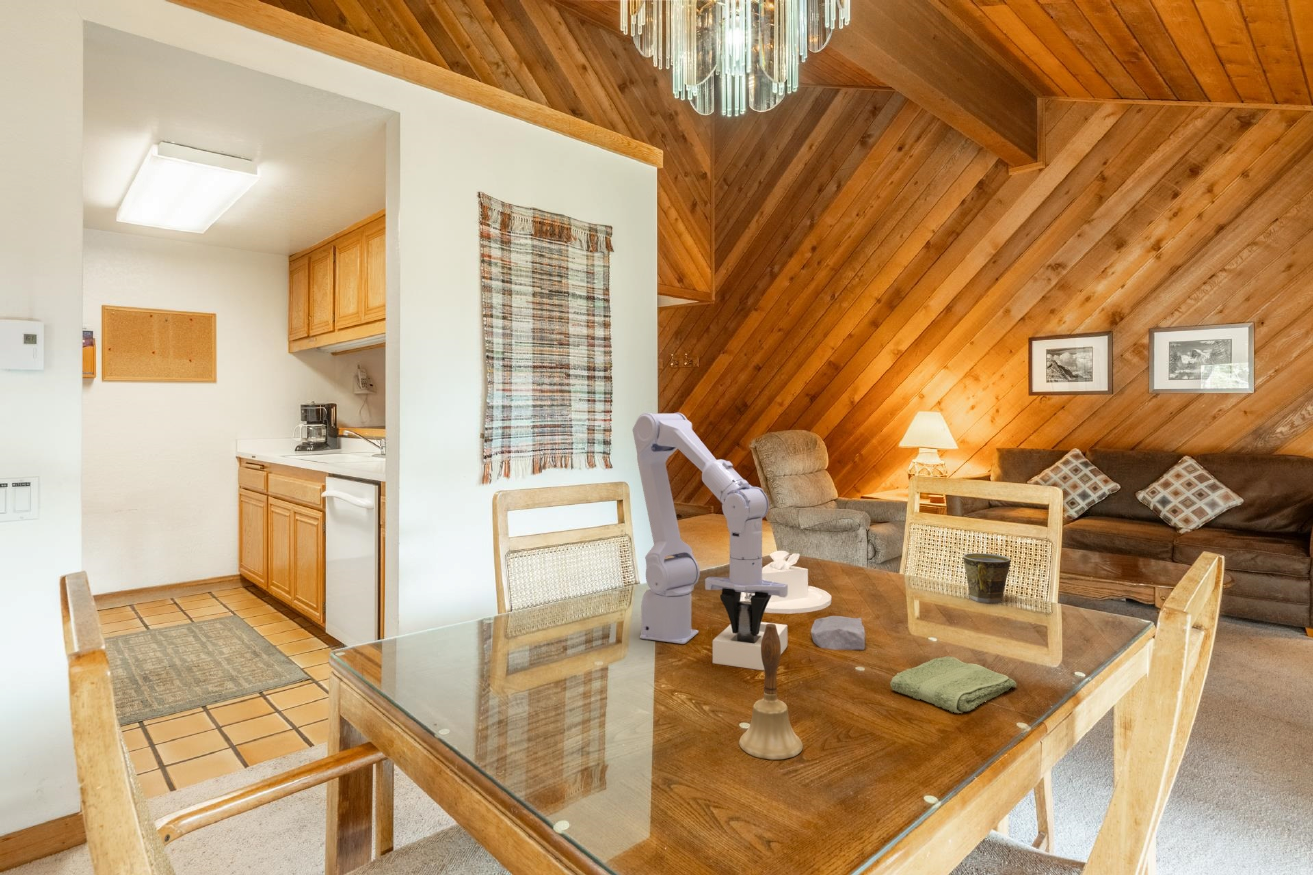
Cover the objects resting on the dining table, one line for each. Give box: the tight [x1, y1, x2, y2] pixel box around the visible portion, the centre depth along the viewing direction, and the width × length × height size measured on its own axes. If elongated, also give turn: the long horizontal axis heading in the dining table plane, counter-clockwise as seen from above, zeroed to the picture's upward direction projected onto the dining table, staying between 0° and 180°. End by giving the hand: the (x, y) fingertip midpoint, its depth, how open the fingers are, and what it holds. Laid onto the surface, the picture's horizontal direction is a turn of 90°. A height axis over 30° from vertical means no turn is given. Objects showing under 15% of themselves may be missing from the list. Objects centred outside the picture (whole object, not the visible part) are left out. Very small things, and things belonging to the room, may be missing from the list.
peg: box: [737, 601, 754, 643], centre depth 124 cm, size 3×3×8 cm
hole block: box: [712, 621, 788, 672], centre depth 128 cm, size 10×14×4 cm
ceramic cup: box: [962, 552, 1011, 604], centre depth 163 cm, size 13×10×10 cm
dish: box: [740, 550, 832, 614], centre depth 166 cm, size 25×25×11 cm
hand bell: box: [738, 623, 804, 761], centre depth 92 cm, size 8×8×16 cm
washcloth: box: [889, 656, 1017, 714], centre depth 111 cm, size 13×18×3 cm
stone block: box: [810, 615, 866, 651], centre depth 136 cm, size 12×5×10 cm
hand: (745, 633), depth 124 cm, fingers closed on peg, 3 cm apart
